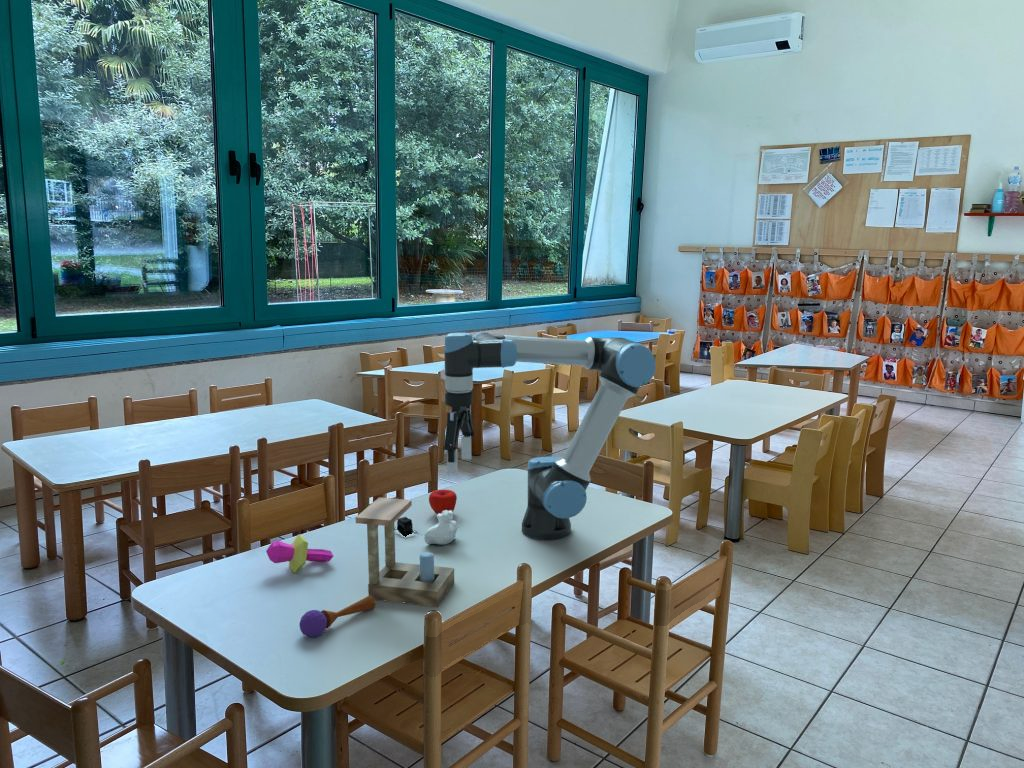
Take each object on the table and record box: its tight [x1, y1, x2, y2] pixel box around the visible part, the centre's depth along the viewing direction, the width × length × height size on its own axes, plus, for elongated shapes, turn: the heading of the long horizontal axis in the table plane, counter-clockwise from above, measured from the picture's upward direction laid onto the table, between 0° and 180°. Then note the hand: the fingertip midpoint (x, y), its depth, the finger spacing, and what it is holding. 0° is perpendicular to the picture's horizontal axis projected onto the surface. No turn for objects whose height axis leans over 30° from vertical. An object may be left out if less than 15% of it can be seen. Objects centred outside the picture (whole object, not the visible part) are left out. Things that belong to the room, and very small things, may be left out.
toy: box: [265, 534, 334, 574], centre depth 213 cm, size 10×18×10 cm, turn 120°
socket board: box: [367, 561, 455, 608], centre depth 200 cm, size 18×14×4 cm
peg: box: [419, 551, 435, 583], centre depth 199 cm, size 4×4×10 cm
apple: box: [428, 489, 458, 515], centre depth 254 cm, size 9×9×8 cm
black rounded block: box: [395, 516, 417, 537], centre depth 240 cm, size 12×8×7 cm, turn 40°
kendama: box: [299, 595, 376, 638], centre depth 184 cm, size 6×6×20 cm
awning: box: [355, 496, 413, 584], centre depth 200 cm, size 9×15×18 cm, turn 167°
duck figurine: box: [423, 510, 459, 546], centre depth 231 cm, size 12×8×11 cm
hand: (459, 466), depth 216 cm, fingers open, 13 cm apart
